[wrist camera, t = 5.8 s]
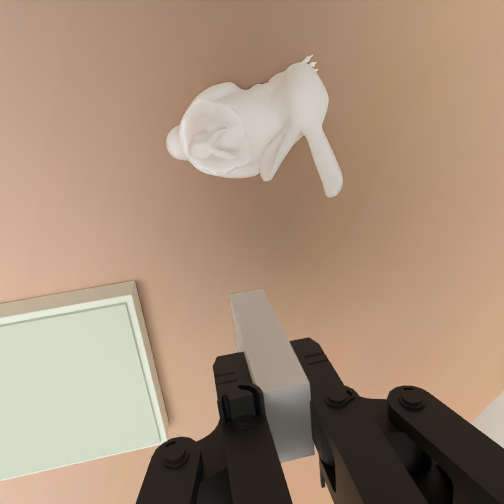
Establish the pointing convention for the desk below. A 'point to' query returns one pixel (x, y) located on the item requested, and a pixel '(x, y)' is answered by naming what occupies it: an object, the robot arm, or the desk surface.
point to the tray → (76, 380)
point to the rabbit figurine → (257, 127)
